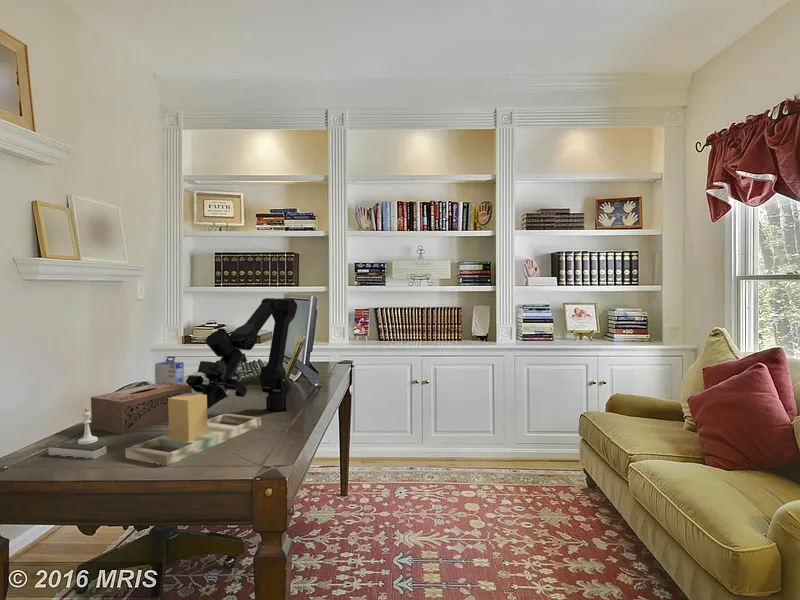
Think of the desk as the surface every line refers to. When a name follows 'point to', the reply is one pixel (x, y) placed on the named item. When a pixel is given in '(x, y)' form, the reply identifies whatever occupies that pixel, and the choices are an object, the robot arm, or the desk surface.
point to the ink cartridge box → (169, 371)
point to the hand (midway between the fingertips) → (202, 410)
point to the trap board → (175, 450)
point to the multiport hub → (77, 450)
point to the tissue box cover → (134, 407)
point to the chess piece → (87, 429)
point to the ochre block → (187, 416)
